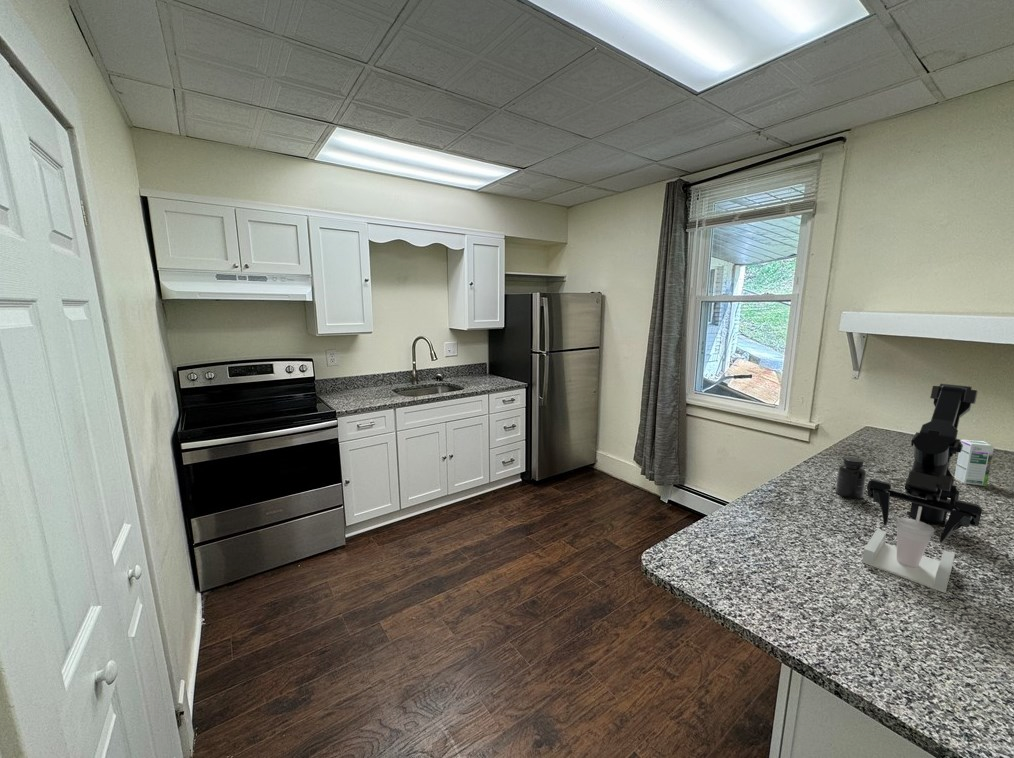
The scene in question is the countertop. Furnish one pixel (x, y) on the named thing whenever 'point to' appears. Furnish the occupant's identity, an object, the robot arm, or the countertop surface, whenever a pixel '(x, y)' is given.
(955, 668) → the countertop surface
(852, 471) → the supplement bottle
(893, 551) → the sheet metal channel
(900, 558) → the smoothie
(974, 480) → the syrup box
